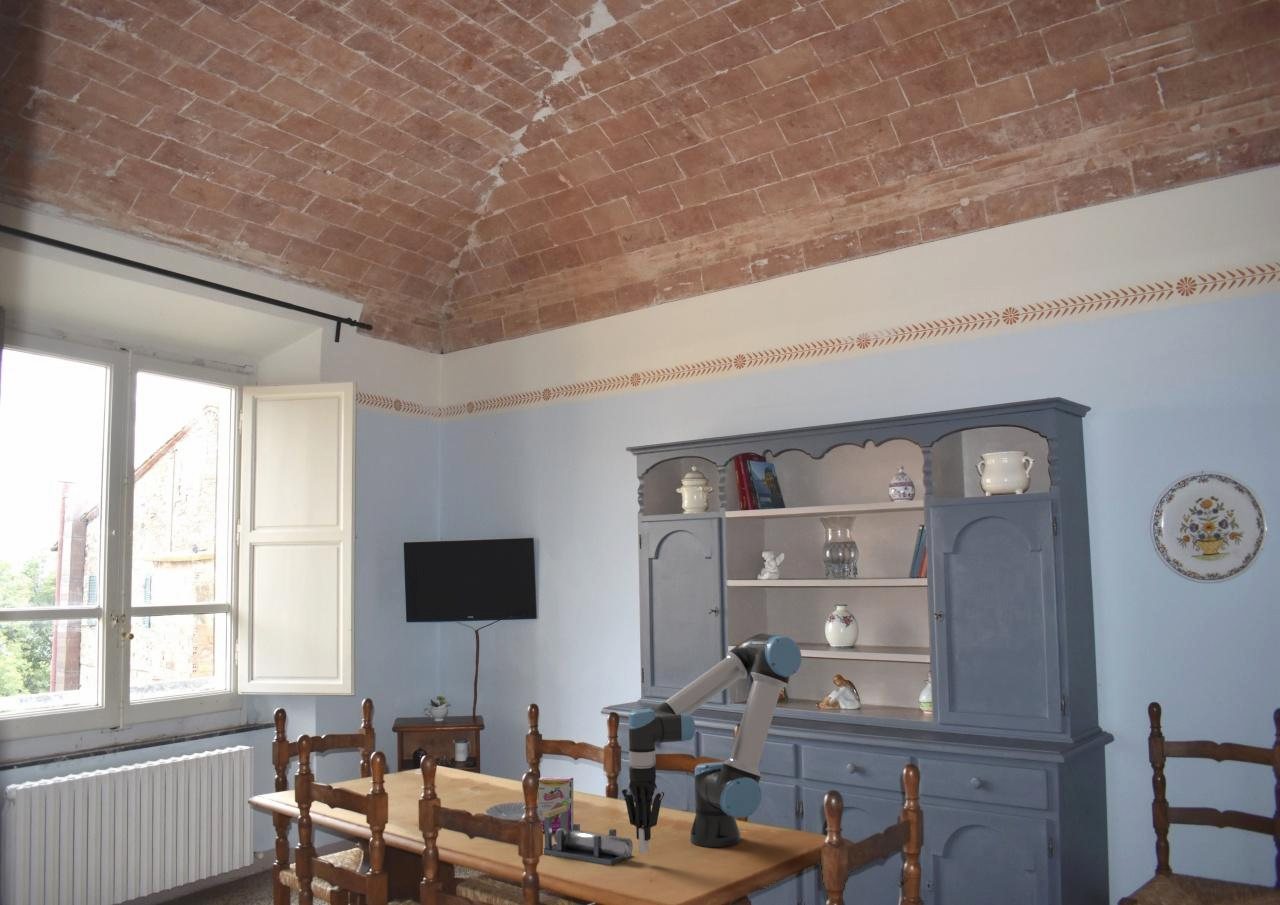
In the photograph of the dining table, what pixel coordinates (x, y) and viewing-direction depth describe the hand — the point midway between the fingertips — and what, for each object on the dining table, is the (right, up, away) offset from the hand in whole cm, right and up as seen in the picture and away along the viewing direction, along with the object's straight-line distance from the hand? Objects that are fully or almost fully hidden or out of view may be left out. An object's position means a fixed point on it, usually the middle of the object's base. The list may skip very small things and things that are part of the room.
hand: (643, 851), depth 286 cm
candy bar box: (-28, -8, +38) cm, 48 cm away
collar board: (-17, -5, +10) cm, 20 cm away
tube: (-15, -3, +8) cm, 17 cm away
